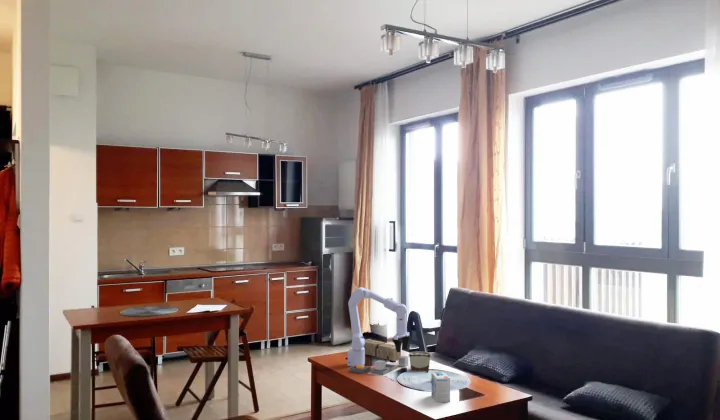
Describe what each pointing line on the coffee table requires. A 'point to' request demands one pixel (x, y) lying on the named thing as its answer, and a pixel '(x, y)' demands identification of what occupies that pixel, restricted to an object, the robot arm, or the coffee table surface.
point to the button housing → (362, 371)
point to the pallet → (388, 370)
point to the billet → (403, 361)
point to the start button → (360, 366)
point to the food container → (419, 360)
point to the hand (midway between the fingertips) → (401, 350)
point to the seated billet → (380, 365)
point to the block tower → (381, 350)
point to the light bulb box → (440, 387)
